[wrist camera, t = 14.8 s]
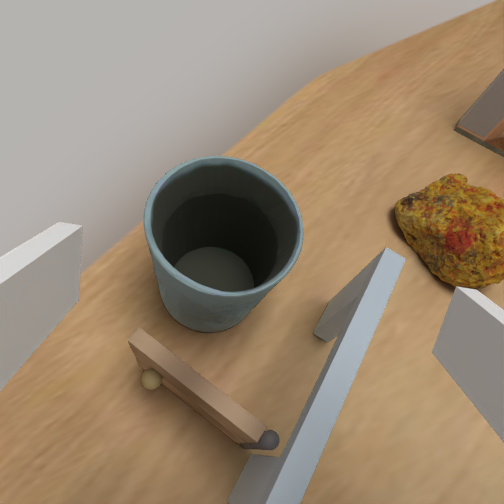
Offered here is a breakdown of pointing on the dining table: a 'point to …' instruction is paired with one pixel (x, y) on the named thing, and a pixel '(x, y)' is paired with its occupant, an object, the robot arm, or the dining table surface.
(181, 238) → the teal cup
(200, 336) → the dining table surface
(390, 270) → the grey rectangular arch
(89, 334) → the dining table surface
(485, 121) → the cabinet
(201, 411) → the door
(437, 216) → the rock
